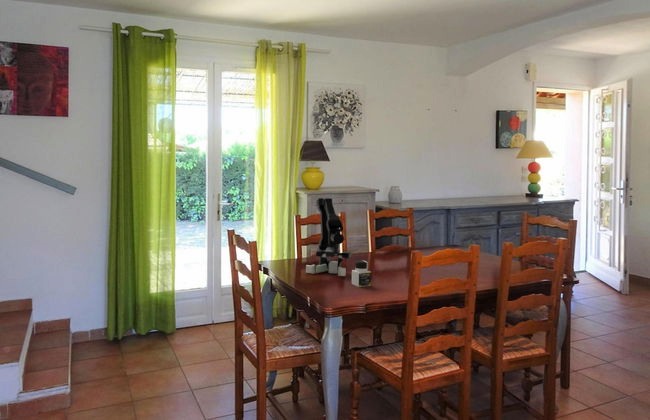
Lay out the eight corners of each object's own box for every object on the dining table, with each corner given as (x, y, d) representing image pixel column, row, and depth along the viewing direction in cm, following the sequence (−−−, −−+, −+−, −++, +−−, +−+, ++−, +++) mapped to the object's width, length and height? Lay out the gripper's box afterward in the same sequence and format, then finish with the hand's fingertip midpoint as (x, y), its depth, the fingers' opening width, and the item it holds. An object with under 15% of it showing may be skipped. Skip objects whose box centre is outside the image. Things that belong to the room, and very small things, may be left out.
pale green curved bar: (318, 273, 290) (318, 266, 290) (315, 272, 292) (316, 265, 291) (333, 269, 299) (333, 263, 299) (331, 269, 300) (331, 262, 300)
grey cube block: (329, 270, 296) (329, 260, 296) (337, 271, 296) (337, 261, 296) (328, 273, 290) (328, 262, 290) (337, 273, 290) (337, 263, 290)
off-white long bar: (307, 272, 294) (307, 264, 293) (345, 275, 287) (345, 267, 286) (305, 272, 292) (305, 264, 291) (344, 276, 285) (344, 267, 285)
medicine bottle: (358, 287, 261) (359, 263, 260) (351, 284, 267) (351, 260, 266) (371, 285, 264) (371, 261, 263) (363, 282, 271) (364, 259, 270)
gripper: (312, 242, 288) (312, 271, 289) (346, 244, 282) (345, 273, 283) (319, 239, 298) (318, 267, 300) (351, 241, 293) (351, 269, 294)
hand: (333, 269), depth 294 cm, fingers closed on grey cube block, 5 cm apart
